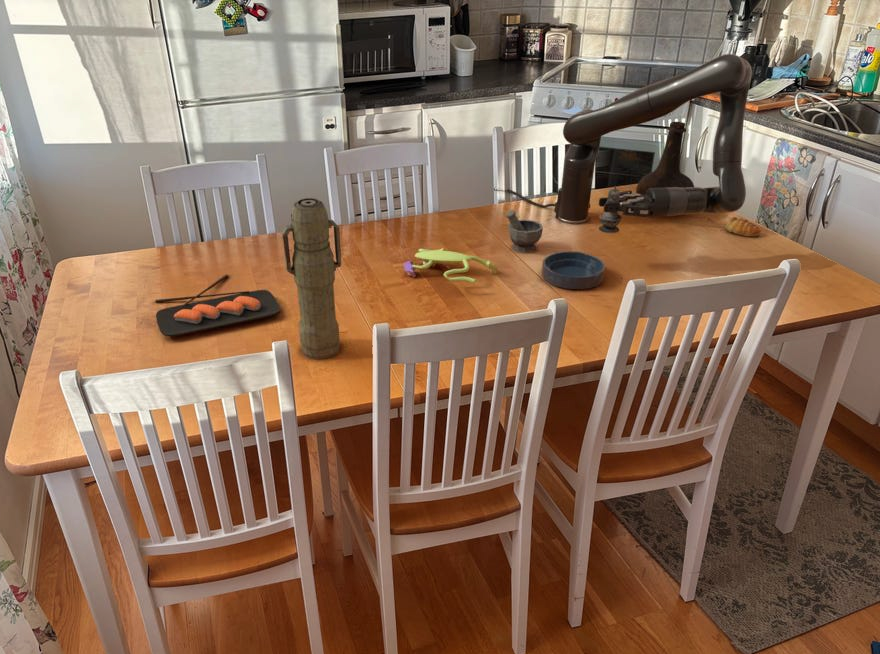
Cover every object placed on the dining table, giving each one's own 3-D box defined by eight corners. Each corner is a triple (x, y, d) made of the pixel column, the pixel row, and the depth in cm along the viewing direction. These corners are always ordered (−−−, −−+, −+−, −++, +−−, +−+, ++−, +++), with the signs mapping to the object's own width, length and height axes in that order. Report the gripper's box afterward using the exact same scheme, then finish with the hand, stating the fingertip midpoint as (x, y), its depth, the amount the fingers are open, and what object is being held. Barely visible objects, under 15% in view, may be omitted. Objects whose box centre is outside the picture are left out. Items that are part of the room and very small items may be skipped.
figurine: (464, 300, 185) (465, 281, 182) (388, 271, 201) (387, 252, 198) (506, 276, 197) (508, 257, 194) (431, 250, 212) (431, 232, 209)
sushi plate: (163, 344, 169) (160, 330, 167) (146, 291, 192) (144, 278, 190) (284, 318, 179) (283, 305, 177) (254, 271, 202) (253, 258, 200)
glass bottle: (649, 223, 228) (665, 132, 213) (623, 203, 242) (636, 117, 228) (701, 218, 231) (720, 128, 216) (672, 199, 245) (688, 114, 230)
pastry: (763, 233, 219) (766, 221, 217) (753, 240, 215) (756, 228, 213) (732, 225, 225) (735, 213, 223) (722, 231, 221) (725, 219, 219)
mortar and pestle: (532, 240, 218) (536, 201, 211) (546, 252, 210) (550, 212, 204) (497, 244, 215) (500, 205, 209) (509, 257, 208) (512, 217, 201)
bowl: (530, 279, 195) (531, 265, 193) (560, 259, 206) (562, 246, 203) (584, 297, 186) (586, 282, 184) (613, 275, 197) (615, 262, 194)
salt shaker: (594, 225, 197) (600, 182, 191) (616, 224, 198) (622, 181, 191) (601, 234, 193) (607, 190, 186) (623, 233, 193) (630, 189, 186)
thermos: (290, 345, 168) (273, 199, 149) (338, 334, 172) (328, 191, 153) (301, 364, 161) (285, 213, 142) (351, 352, 165) (342, 204, 146)
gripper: (657, 179, 196) (595, 182, 195) (679, 197, 184) (612, 200, 183) (653, 205, 200) (591, 208, 199) (673, 225, 188) (608, 228, 187)
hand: (602, 205), depth 191 cm, fingers closed on salt shaker, 3 cm apart
